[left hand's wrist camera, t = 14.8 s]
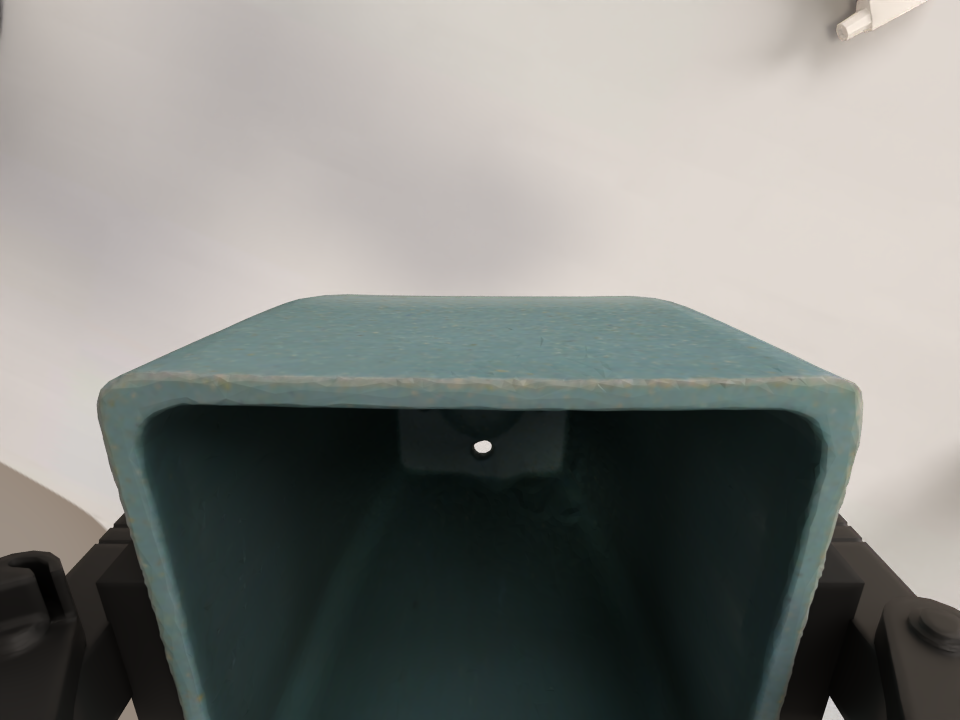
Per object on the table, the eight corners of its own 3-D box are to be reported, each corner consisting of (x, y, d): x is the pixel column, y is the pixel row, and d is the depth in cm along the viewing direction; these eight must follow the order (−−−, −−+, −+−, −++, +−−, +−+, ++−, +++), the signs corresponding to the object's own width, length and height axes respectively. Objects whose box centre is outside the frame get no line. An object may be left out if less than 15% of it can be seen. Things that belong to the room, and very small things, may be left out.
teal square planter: (337, 523, 18) (213, 869, 9) (306, 237, 15) (73, 377, 6) (620, 523, 18) (746, 868, 9) (652, 237, 15) (884, 377, 6)
